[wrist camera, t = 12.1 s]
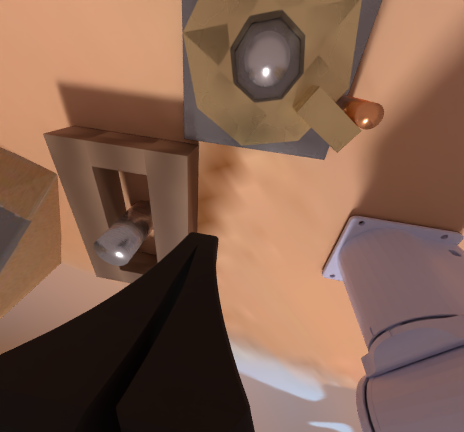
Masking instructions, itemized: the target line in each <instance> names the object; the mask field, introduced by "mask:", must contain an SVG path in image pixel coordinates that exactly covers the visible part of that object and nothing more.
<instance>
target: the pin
mask: <svg viewBox="0 0 464 432" xmlns="http://www.w3.org/2000/svg"><path fill="white" fill-rule="evenodd" d="M152 230H153V221H152V213H151V205H150V203H148V202H145V201H139V202H136V203H135V204H134V205H133V206H132V207H131V208H130V209H129V210H128V211H127V212H126V213H125V214H123V215H122V216H121V217H120V218H119V219H118V220H117V221H116V222H115V223H114V224H113V225H112V226H111V227H110V228H109V229H108V230H107V231H106V232H105V233H104V234H103V235H102V236H101V237H100V238H99V239H98V240H96V242H95V243H94V250H95V252H96V254H97V255H98V256H99V257H100V258H101V259H102V260H104V261H105V262H107V263H109V264H112V265H116V266H122V265H125V264H127V263H128V262H129V260H130V259H131V258H132V256H133V255H134V254H135V252H136V251H137V250H138V248H139V247H140V246H141V244H142V243H143V242H144V240H145V239H146V238H147V236H148V235H149V234H150V232H151V231H152Z"/></svg>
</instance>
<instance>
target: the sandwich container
mask: <svg viewBox="0 0 464 432" xmlns="http://www.w3.org/2000/svg"><path fill="white" fill-rule="evenodd" d="M60 263H62V261H61V225H60V209H59V194H58V179H57V174H56V173H54V172H52V171H50V170H48V169H46V168H44V167H42V166H40V165H37V164H35V163H33V162H31V161H29V160H27V159H25V158H23V157H21V156H19V155H17V154H14V153H12V152H9V151H7V150H5V149H2V148H0V319H1V318H2V317H3V316H4V315H5V314H6V313H7V312H9V311H10V310H11V309H12V308H13V307H14V306H15V305H16V304H17V303H18V302H19V301H21V300H22V299H23V298H24V297H25V296H26V295H27V294H28V293H29V292H30V291H31V290H32V289H33V288H35V287H36V286H37V285H38V284H39V283H40V282H41V281H42V280H43V279H44V278H45V277H46V276H48V274H50V273H51V272H52V271H53V270H54V269H55V268H56V267H57V266H58V265H59V264H60Z"/></svg>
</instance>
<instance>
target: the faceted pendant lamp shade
mask: <svg viewBox="0 0 464 432" xmlns="http://www.w3.org/2000/svg"><path fill="white" fill-rule="evenodd" d="M361 2H362V0H198V1H197V3H196V5H195V8H194V10H193V12H192V14H191V16H190V18H189V20H188V22H187V25H186V27H185V29H184V31H183V36H184V42H185V47H186V52H187V57H188V63H189V68H190V73H191V78H192V84H193V89H194V94H195V100H196V105H197V108H198V109H199V110H200V111H202V112H203V113H204V114H205V115H206V116H207V117H209V118H210V119H211V120H212V121H213V122H214V123H216V124H217V125H218V126H219V127H220V128H222V129H223V130H224V131H225V132H226V133H227V134H229V135H230V136H231V137H232V138H233V139H234V140H236V141H237V142H238V143H239V144H240V145H242V146H244V145H255V144H267V143H278V142H289V141H299V140H300V138H301V137H302V136H303V135H304V134H305V133H306V132H307V131H308V130H309V129H310V128H312V129H313V130H314V131H315V132H316V133H317V134H318V135H320V136H321V137H322V138H323V139H324V140H325V141H326V142H327V143H328V144H329V145H330V146H331V147H332V148H333V149H334V150H335V151H336V152H338V151H340V150H341V149H342V148H343V147H344V146H345V145H346V144H347V143H349V142H350V141H351V140H352V139H353V138H354V137H355V136H356V135H358V134H359V133H360V132H361V130H360V128H359V127H358V126H357V125H356V124H355V123H354V122H353V121H352V120H351V119H350V118H349V117H348V116H347V115H346V114H345V113H344V112H343V110H342V109H341V108H340V107H339V106H338V105H337V104H336V103H335V102H336V101H337V100H338V99H339V98H340V97H341V96H342V95H343V94H344V93H345V92H346V91H347V90H348V89H349V85H350V78H351V71H352V64H353V57H354V50H355V44H356V37H357V30H358V23H359V16H360V9H361ZM279 17H281V18H282V19H283V20H284V22H285V23H286V24H287V25H288V26H289V27H290V28H291V29H292V30H293V31H294V33H295V34H296V35H297V36H298V37H299V38H300V39H301V54H300V74H299V75H298V76H297V77H296V79H295V80H294V81H293V82H292V84H291V85H290V86H289V87H288V89H287V90H286V91H285V92H284V94H283V95H282V96H281V97H277V98H269V99H261V100H255V99H254V98H253V97H252V96H251V95H250V94H249V93H248V92H247V91H246V90H245V89H243V88H242V87H241V86H240V85H239V84H238V83H237V76H236V66H235V55H234V51H235V49H236V48H237V46H238V44H239V43H240V41H241V39H242V38H243V36H244V34H245V33H246V31H247V30H248V28H249V26H250V25H251V23H254V22H259V21H264V20H269V19H274V18H279Z"/></svg>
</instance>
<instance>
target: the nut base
mask: <svg viewBox="0 0 464 432" xmlns="http://www.w3.org/2000/svg"><path fill="white" fill-rule="evenodd" d="M197 1H198V0H182V26H183V31H184V29H185V27H186V25H187V22H188V20H189V18H190V16H191V14H192V12H193V10H194V8H195V5H196V3H197ZM381 2H382V0H362V2H361V9H360V16H359V23H358V30H357V37H356V44H355V50H354V57H353V64H352V71H351V78H350V85H349V89H348V90H347V91H346V92H345V93H344V94H343V95H342V96H341V97H340V98H339V99H338V100H337V101H336V102H335V103H336V104H337V105H338V106H339V107H340V108H341V109H342V110H343V112H344V113H345V114H346V115H347V116H348V117H349V118H350V119H351V120H352V121H353V122H354V123H355V124H356V125H357V126H358V127H360V128H362V129H371V128H373V127H375V126H377V125H378V124H379V123H380V122H381V120H382V118H383V115H384V109H383V107H382V106H381V105H380V104H378V103H374V102H370V101H366V100H363V99H359V98H355V97H351V96H348V93H349V90H350V87H351V85H352V82H353V79H354V76H355V74H356V71H357V68H358V65H359V62H360V60H361V57H362V54H363V51H364V49H365V46H366V43H367V40H368V38H369V35H370V32H371V29H372V26H373V24H374V21H375V18H376V15H377V13H378V10H379V7H380V4H381ZM300 54H301V39H300V38H299V37H298V36H297V35H296V34H295V33H294V31H293V30H292V29H291V28H290V27H289V26H288V25H287V24H286V23H285V22H284V20H283V19H282V18H281V17H279V18H274V19H269V20H264V21H259V22H254V23H251V25H250V26H249V28H248V30H247V31H246V33H245V34H244V36H243V38H242V39H241V41H240V43H239V44H238V46H237V48H236V49H235V51H234V55H235V66H236V76H237V83H238V84H239V85H240V86H241V87H242V88H243V89H245V90H246V91H247V92H248V93H249V94H250V95H251V96H252V97H253V98H254V99H255V100H261V99H269V98H277V97H281V96H282V95H283V94H284V92H285V91H286V90H287V89H288V87H289V86H290V85H291V84H292V82H293V81H294V80H295V79H296V77H297V76H298V75H299V74H300ZM183 83H184V139H190V140H196V141H203V142H209V143H216V144H223V145H229V146H236V147H243V148H249V149H256V150H262V151H269V152H276V153H282V154H289V155H296V156H302V157H309V158H315V159H322V160H324V159H325V157H326V154H327V151H328V148H329V146H330V145H329V144H328V143H327V142H326V141H325V140H324V139H323V138H322V137H321V136H320V135H318V134H317V133H316V132H315V131H314V130H313V129H312V128H310V129H309V130H308V131H307V132H306V133H305V134H304V135H303V136H302V137H301V138H300V140H299V141H289V142H278V143H267V144H255V145H244V146H242V145H240V144H239V143H238V142H237V141H236V140H234V139H233V138H232V137H231V136H230V135H229V134H227V133H226V132H225V131H224V130H223V129H222V128H220V127H219V126H218V125H217V124H216V123H214V122H213V121H212V120H211V119H210V118H209V117H207V116H206V115H205V114H204V113H203V112H202V111H200V110H199V109H198V108H197V105H196V100H195V94H194V89H193V84H192V78H191V73H190V68H189V63H188V57H187V52H186V47H185V42H184V36H183Z"/></svg>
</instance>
